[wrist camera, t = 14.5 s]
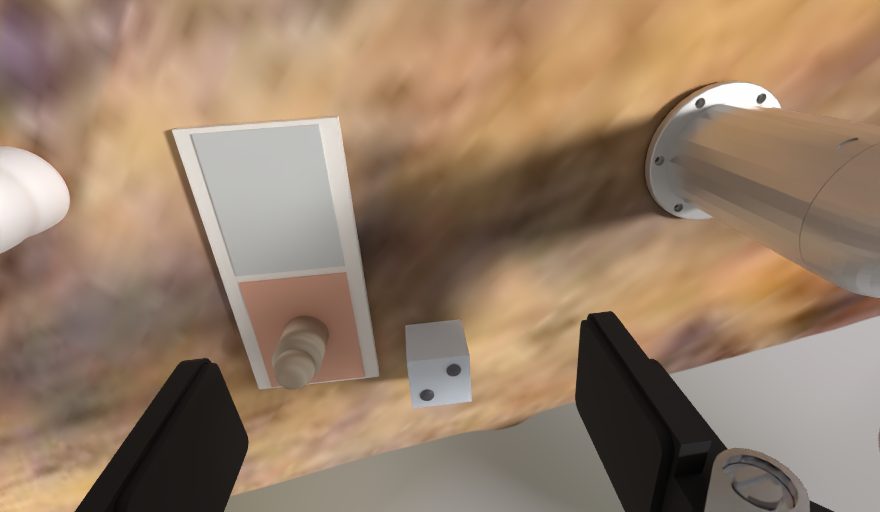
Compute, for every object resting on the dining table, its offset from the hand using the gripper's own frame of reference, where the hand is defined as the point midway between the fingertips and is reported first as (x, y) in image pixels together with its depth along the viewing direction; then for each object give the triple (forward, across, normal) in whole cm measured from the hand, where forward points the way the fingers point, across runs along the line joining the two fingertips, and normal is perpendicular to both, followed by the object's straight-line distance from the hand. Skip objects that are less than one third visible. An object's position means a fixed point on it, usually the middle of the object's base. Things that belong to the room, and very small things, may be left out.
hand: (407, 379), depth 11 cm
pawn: (+28, +12, +18) cm, 35 cm away
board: (+29, +12, +11) cm, 33 cm away
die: (+29, 0, +22) cm, 37 cm away
